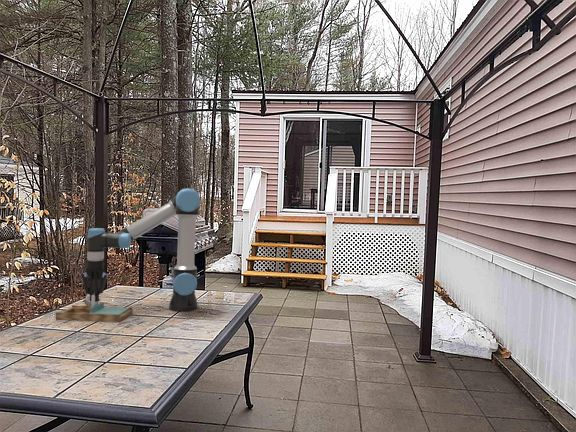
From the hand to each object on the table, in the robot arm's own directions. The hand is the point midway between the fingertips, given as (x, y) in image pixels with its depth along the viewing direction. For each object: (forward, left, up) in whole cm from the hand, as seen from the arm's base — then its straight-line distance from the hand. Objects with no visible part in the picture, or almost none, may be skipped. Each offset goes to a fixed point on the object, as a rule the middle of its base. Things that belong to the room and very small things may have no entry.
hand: (94, 308), depth 203 cm
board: (-1, 0, -4) cm, 4 cm away
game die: (+9, -17, -5) cm, 20 cm away
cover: (-8, 0, -2) cm, 8 cm away
